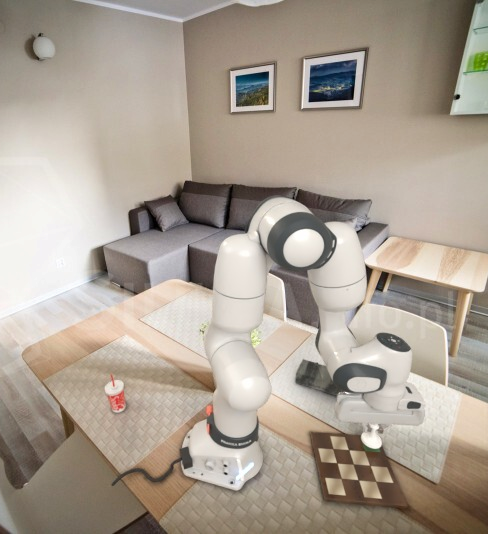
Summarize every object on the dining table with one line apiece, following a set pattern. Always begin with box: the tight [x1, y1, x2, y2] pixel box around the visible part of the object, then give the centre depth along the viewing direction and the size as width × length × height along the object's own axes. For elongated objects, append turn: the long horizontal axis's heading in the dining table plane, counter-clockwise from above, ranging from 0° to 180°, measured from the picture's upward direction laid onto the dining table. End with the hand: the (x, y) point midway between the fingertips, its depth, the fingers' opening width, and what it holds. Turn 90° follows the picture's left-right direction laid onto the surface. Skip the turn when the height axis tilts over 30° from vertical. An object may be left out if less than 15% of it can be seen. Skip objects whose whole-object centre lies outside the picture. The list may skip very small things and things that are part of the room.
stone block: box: [295, 358, 343, 397], centre depth 111 cm, size 9×14×5 cm, turn 57°
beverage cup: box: [104, 374, 127, 414], centre depth 106 cm, size 6×6×14 cm
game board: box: [309, 431, 408, 510], centre depth 84 cm, size 18×18×1 cm
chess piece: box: [360, 423, 383, 449], centre depth 86 cm, size 5×5×10 cm
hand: (373, 431), depth 86 cm, fingers closed on chess piece
